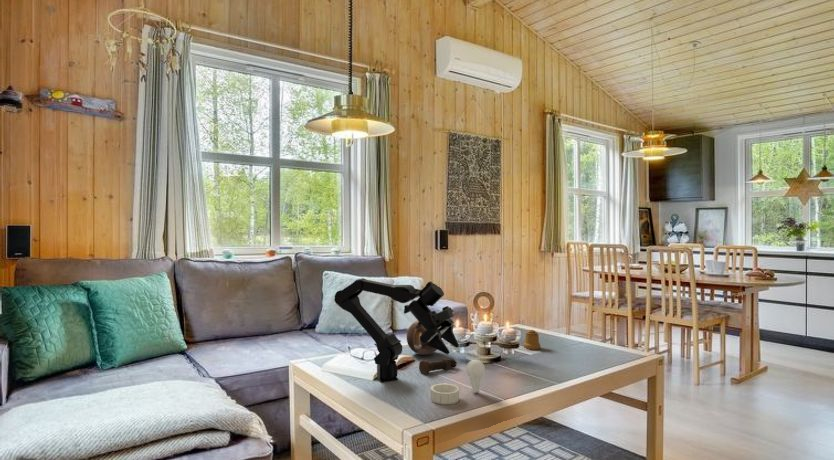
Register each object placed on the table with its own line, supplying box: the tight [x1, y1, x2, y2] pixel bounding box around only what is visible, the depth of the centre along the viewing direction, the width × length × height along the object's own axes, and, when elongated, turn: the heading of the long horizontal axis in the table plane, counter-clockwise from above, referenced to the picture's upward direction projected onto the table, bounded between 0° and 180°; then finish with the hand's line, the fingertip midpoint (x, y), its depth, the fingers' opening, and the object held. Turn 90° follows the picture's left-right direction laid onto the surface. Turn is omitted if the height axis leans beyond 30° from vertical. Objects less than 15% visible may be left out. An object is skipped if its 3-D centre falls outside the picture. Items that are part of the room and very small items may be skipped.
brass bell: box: [523, 329, 541, 351], centre depth 218 cm, size 8×8×8 cm
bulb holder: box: [430, 383, 460, 406], centre depth 155 cm, size 9×9×4 cm
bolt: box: [418, 357, 458, 376], centre depth 184 cm, size 6×5×15 cm
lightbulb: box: [466, 359, 486, 394], centre depth 161 cm, size 6×6×11 cm
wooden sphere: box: [406, 319, 443, 356], centre depth 206 cm, size 15×15×15 cm
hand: (453, 350), depth 164 cm, fingers open, 9 cm apart
